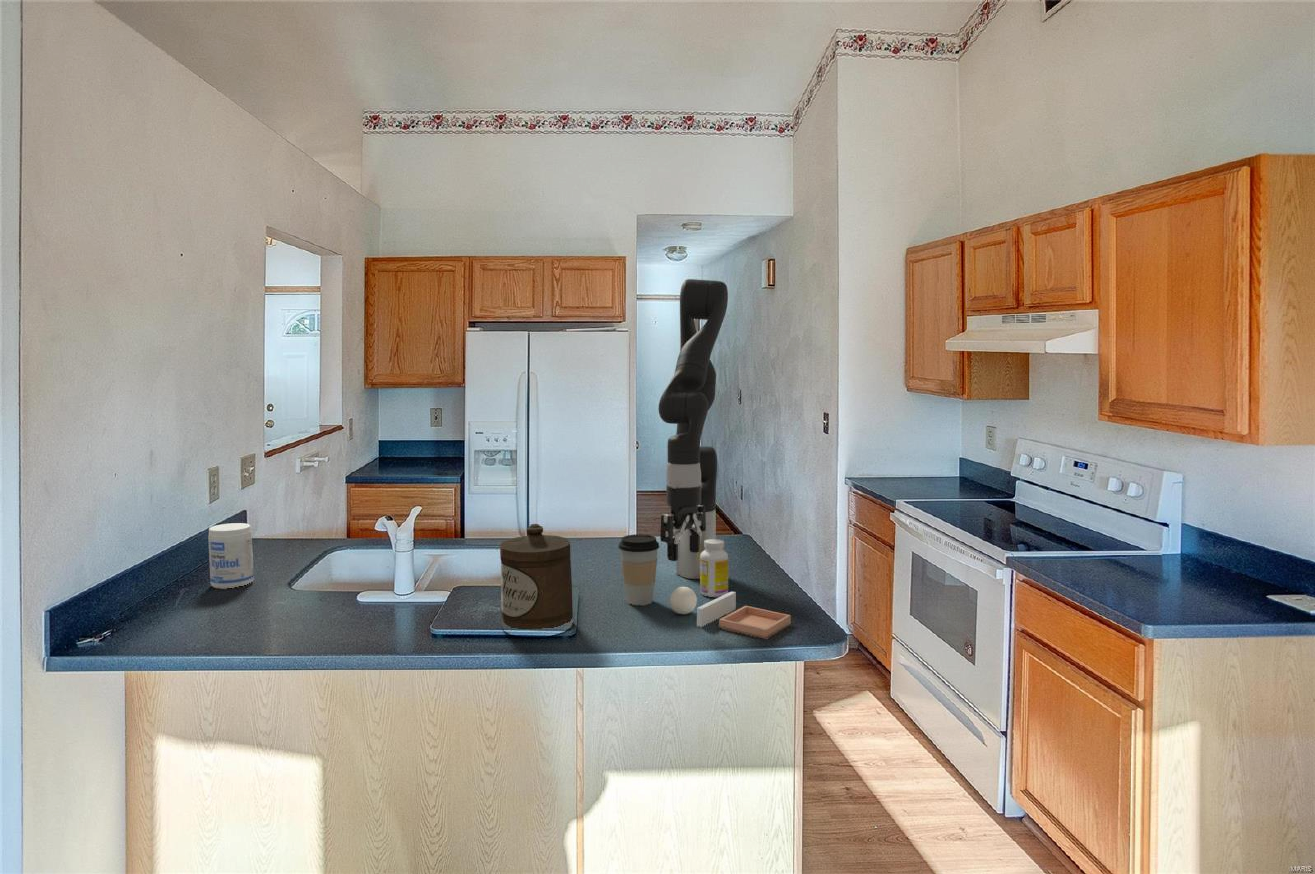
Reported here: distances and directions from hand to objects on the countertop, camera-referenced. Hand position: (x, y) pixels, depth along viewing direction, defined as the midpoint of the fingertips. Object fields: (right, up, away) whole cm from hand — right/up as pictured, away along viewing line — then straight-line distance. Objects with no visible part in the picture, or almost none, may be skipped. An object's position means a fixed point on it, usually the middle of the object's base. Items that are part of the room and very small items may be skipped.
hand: (683, 556), depth 178 cm
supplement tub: (-112, -11, +25) cm, 115 cm away
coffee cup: (-10, -12, +10) cm, 19 cm away
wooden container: (-31, -14, -6) cm, 35 cm away
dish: (+15, -14, -7) cm, 21 cm away
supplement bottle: (+8, -12, +16) cm, 21 cm away
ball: (0, -13, +2) cm, 13 cm away
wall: (+7, -13, -1) cm, 15 cm away
